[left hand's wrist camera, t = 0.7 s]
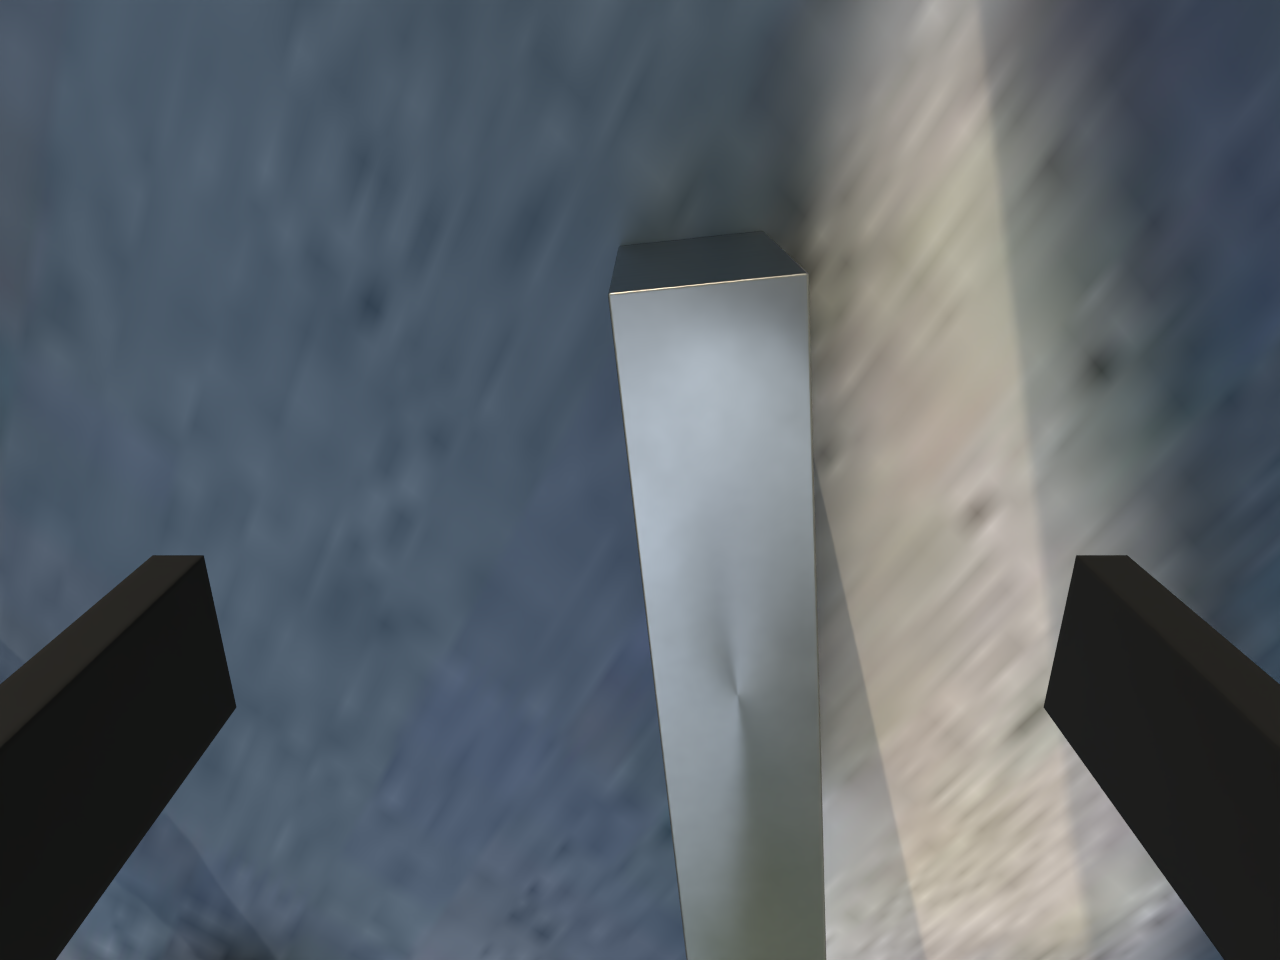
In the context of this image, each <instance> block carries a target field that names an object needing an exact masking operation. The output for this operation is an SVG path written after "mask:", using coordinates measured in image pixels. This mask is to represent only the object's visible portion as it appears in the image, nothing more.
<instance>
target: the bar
mask: <svg viewBox="0 0 1280 960" xmlns="http://www.w3.org/2000/svg"><path fill="white" fill-rule="evenodd" d="M608 299H609V307H610V316H611V324H612V333H613V341H614V350H615V358H616V367H617V375H618V383H619V392H620V400H621V409H622V417H623V426H624V434H625V443H626V451H627V460H628V468H629V476H630V485H631V493H632V502H633V510H634V519H635V527H636V536H637V544H638V553H639V561H640V570H641V578H642V586H643V595H644V603H645V612H646V620H647V629H648V637H649V646H650V654H651V663H652V671H653V680H654V688H655V696H656V705H657V713H658V722H659V730H660V739H661V747H662V756H663V764H664V773H665V781H666V790H667V798H668V806H669V815H670V823H671V832H672V840H673V849H674V857H675V866H676V874H677V883H678V891H679V899H680V908H681V916H682V925H683V933H684V942H685V950H686V959H687V960H826V935H825V895H824V856H823V817H822V778H821V739H820V700H819V660H818V621H817V582H816V543H815V504H814V465H813V425H812V386H811V347H810V308H809V275H808V273H807V272H806V271H805V270H804V269H803V268H802V267H801V266H800V265H799V264H798V263H797V262H796V261H794V260H793V259H792V258H791V257H790V256H789V255H788V254H787V253H786V252H785V251H784V250H783V249H782V248H780V247H779V246H778V245H777V244H776V243H775V242H774V241H773V240H772V239H771V238H770V237H769V236H768V235H767V234H765V233H764V232H763V231H758V232H749V233H739V234H730V235H721V236H711V237H702V238H692V239H683V240H674V241H664V242H655V243H645V244H636V245H627V246H620V247H619V248H618V253H617V257H616V262H615V267H614V271H613V276H612V280H611V285H610V289H609V294H608Z"/></svg>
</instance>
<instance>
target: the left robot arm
mask: <svg viewBox="0 0 1280 960" xmlns="http://www.w3.org/2000/svg"><path fill="white" fill-rule="evenodd" d="M235 708H236V703H235V699H234V694H233V690H232V685H231V680H230V676H229V671H228V666H227V662H226V657H225V652H224V648H223V643H222V638H221V634H220V629H219V624H218V620H217V615H216V611H215V606H214V601H213V597H212V592H211V587H210V583H209V578H208V573H207V569H206V564H205V559H204V555H153V556H152V557H150V558H149V559H148V560H147V561H146V562H144V563H143V564H142V565H141V566H140V567H139V568H137V569H136V570H135V571H134V572H133V573H131V574H130V575H129V576H128V577H127V578H126V579H124V580H123V581H122V582H121V583H120V584H118V585H117V586H116V587H115V588H114V589H113V590H111V591H110V592H109V593H108V594H107V595H105V596H104V597H103V598H102V599H101V600H100V601H98V602H97V603H96V604H95V605H94V606H92V607H91V608H90V609H89V610H88V611H87V612H85V613H84V614H83V615H82V616H81V617H79V618H78V619H77V620H76V621H75V622H74V623H72V624H71V625H70V626H69V627H68V628H66V629H65V630H64V631H63V632H62V633H61V634H59V635H58V636H57V637H56V638H55V639H53V640H52V641H51V642H50V643H49V644H48V645H46V646H45V647H44V648H43V649H42V650H40V651H39V652H38V653H37V654H36V655H35V656H33V657H32V658H31V659H30V660H29V661H27V662H26V663H25V664H24V665H23V666H22V667H20V668H19V669H18V670H17V671H16V672H15V673H13V674H12V675H11V676H10V677H9V678H7V679H6V680H5V681H4V682H3V683H2V684H0V960H56V959H57V957H58V956H59V954H60V953H61V952H62V950H63V949H64V947H65V946H66V945H67V943H68V942H69V940H70V939H71V938H72V936H73V935H74V934H75V932H76V931H77V929H78V928H79V927H80V925H81V924H82V922H83V921H84V920H85V918H86V917H87V915H88V914H89V913H90V911H91V910H92V908H93V907H94V906H95V904H96V903H97V901H98V900H99V899H100V897H101V896H102V894H103V893H104V892H105V890H106V889H107V887H108V886H109V885H110V883H111V882H112V880H113V879H114V878H115V876H116V875H117V873H118V872H119V871H120V869H121V868H122V866H123V865H124V864H125V862H126V861H127V859H128V858H129V857H130V855H131V854H132V852H133V851H134V850H135V848H136V847H137V845H138V844H139V843H140V841H141V840H142V838H143V837H144V836H145V834H146V833H147V831H148V830H149V829H150V827H151V826H152V824H153V823H154V822H155V820H156V819H157V817H158V816H159V815H160V813H161V812H162V810H163V809H164V808H165V806H166V805H167V803H168V802H169V801H170V799H171V798H172V797H173V795H174V794H175V792H176V791H177V790H178V788H179V787H180V785H181V784H182V783H183V781H184V780H185V778H186V777H187V776H188V774H189V773H190V771H191V770H192V769H193V767H194V766H195V764H196V763H197V762H198V760H199V759H200V757H201V756H202V755H203V753H204V752H205V750H206V749H207V748H208V746H209V745H210V743H211V742H212V741H213V739H214V738H215V736H216V735H217V734H218V732H219V731H220V729H221V728H222V727H223V725H224V724H225V722H226V721H227V720H228V718H229V717H230V715H231V714H232V713H233V711H234V710H235ZM1044 708H1045V710H1046V711H1047V713H1048V714H1049V715H1050V717H1051V718H1052V720H1053V721H1054V722H1055V724H1056V725H1057V727H1058V728H1059V729H1060V731H1061V732H1062V734H1063V735H1064V736H1065V738H1066V739H1067V741H1068V742H1069V743H1070V745H1071V746H1072V748H1073V749H1074V750H1075V752H1076V753H1077V755H1078V756H1079V757H1080V759H1081V760H1082V762H1083V763H1084V764H1085V766H1086V767H1087V769H1088V770H1089V771H1090V773H1091V774H1092V776H1093V777H1094V778H1095V780H1096V781H1097V783H1098V784H1099V785H1100V787H1101V788H1102V790H1103V791H1104V792H1105V794H1106V795H1107V797H1108V798H1109V799H1110V801H1111V802H1112V803H1113V805H1114V806H1115V808H1116V809H1117V810H1118V812H1119V813H1120V815H1121V816H1122V817H1123V819H1124V820H1125V822H1126V823H1127V824H1128V826H1129V827H1130V829H1131V830H1132V831H1133V833H1134V834H1135V836H1136V837H1137V838H1138V840H1139V841H1140V843H1141V844H1142V845H1143V847H1144V848H1145V850H1146V851H1147V852H1148V854H1149V855H1150V857H1151V858H1152V859H1153V861H1154V862H1155V864H1156V865H1157V866H1158V868H1159V869H1160V871H1161V872H1162V873H1163V875H1164V876H1165V878H1166V879H1167V880H1168V882H1169V883H1170V885H1171V886H1172V887H1173V889H1174V890H1175V892H1176V893H1177V894H1178V896H1179V897H1180V899H1181V900H1182V901H1183V903H1184V904H1185V906H1186V907H1187V908H1188V910H1189V911H1190V913H1191V914H1192V915H1193V917H1194V918H1195V920H1196V921H1197V922H1198V924H1199V925H1200V927H1201V928H1202V929H1203V931H1204V932H1205V934H1206V935H1207V936H1208V938H1209V939H1210V940H1211V942H1212V943H1213V945H1214V946H1215V947H1216V949H1217V950H1218V952H1219V953H1220V954H1221V956H1222V957H1223V959H1224V960H1280V684H1278V683H1277V682H1276V681H1275V680H1274V679H1273V678H1271V677H1270V676H1269V675H1268V674H1267V673H1265V672H1264V671H1263V670H1262V669H1261V668H1260V667H1258V666H1257V665H1256V664H1255V663H1254V662H1253V661H1251V660H1250V659H1249V658H1248V657H1247V656H1245V655H1244V654H1243V653H1242V652H1241V651H1240V650H1238V649H1237V648H1236V647H1235V646H1234V645H1232V644H1231V643H1230V642H1229V641H1228V640H1227V639H1225V638H1224V637H1223V636H1222V635H1221V634H1219V633H1218V632H1217V631H1216V630H1215V629H1214V628H1212V627H1211V626H1210V625H1209V624H1208V623H1206V622H1205V621H1204V620H1203V619H1202V618H1201V617H1199V616H1198V615H1197V614H1196V613H1195V612H1193V611H1192V610H1191V609H1190V608H1189V607H1188V606H1186V605H1185V604H1184V603H1183V602H1182V601H1180V600H1179V599H1178V598H1177V597H1176V596H1175V595H1173V594H1172V593H1171V592H1170V591H1169V590H1167V589H1166V588H1165V587H1164V586H1163V585H1162V584H1160V583H1159V582H1158V581H1157V580H1156V579H1154V578H1153V577H1152V576H1151V575H1150V574H1149V573H1147V572H1146V571H1145V570H1144V569H1143V568H1141V567H1140V566H1139V565H1138V564H1137V563H1136V562H1134V561H1133V560H1132V559H1131V558H1130V557H1128V556H1127V555H1076V559H1075V564H1074V569H1073V573H1072V578H1071V583H1070V587H1069V592H1068V597H1067V601H1066V606H1065V611H1064V615H1063V620H1062V624H1061V629H1060V634H1059V638H1058V643H1057V648H1056V652H1055V657H1054V662H1053V666H1052V671H1051V676H1050V680H1049V685H1048V690H1047V694H1046V699H1045V703H1044Z"/></svg>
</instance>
